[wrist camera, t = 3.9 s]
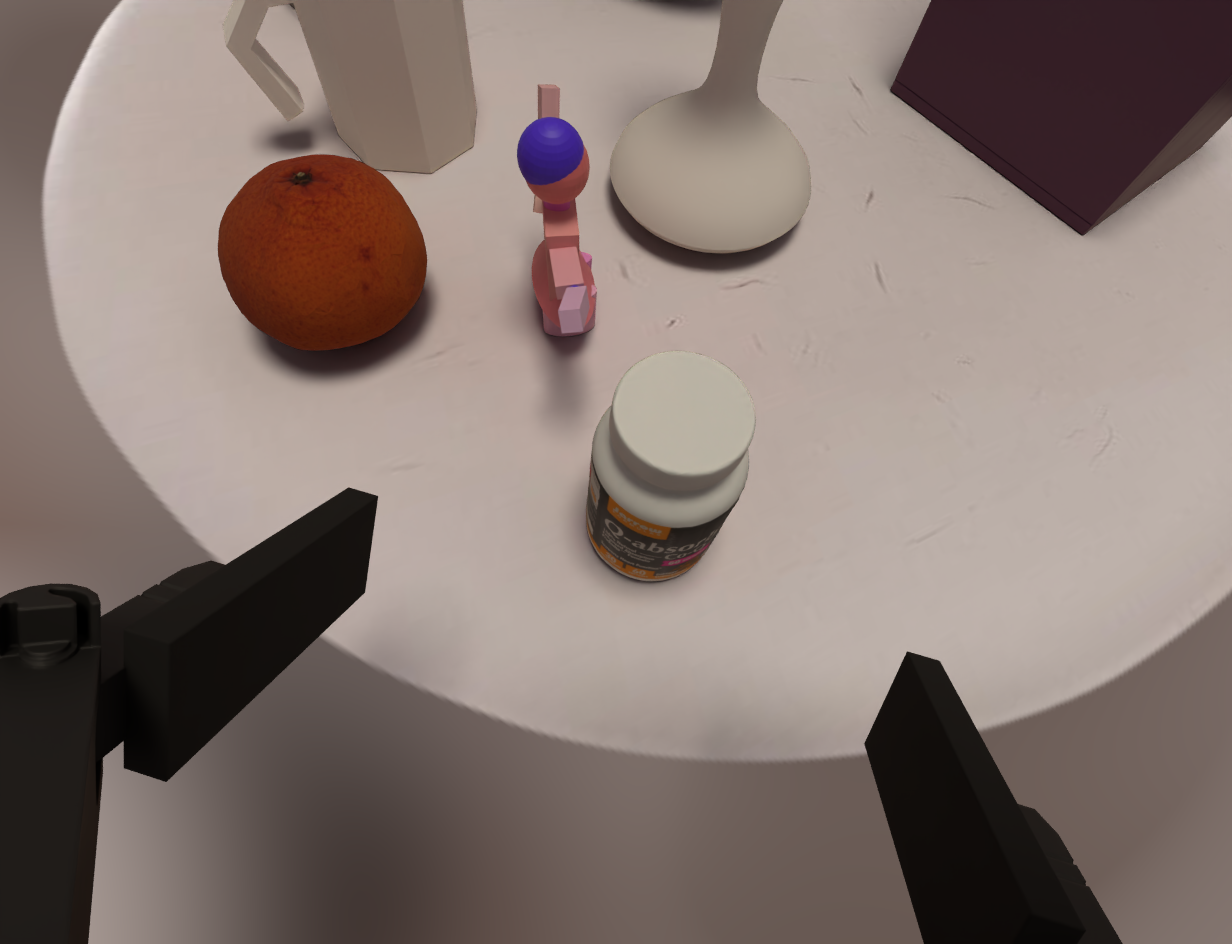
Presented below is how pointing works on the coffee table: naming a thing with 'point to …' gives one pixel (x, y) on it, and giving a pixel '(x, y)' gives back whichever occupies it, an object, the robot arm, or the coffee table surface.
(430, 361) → the coffee table surface
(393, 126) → the mug
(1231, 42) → the chest
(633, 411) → the pill bottle
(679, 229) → the flower in vase
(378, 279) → the fruit
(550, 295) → the figurine
